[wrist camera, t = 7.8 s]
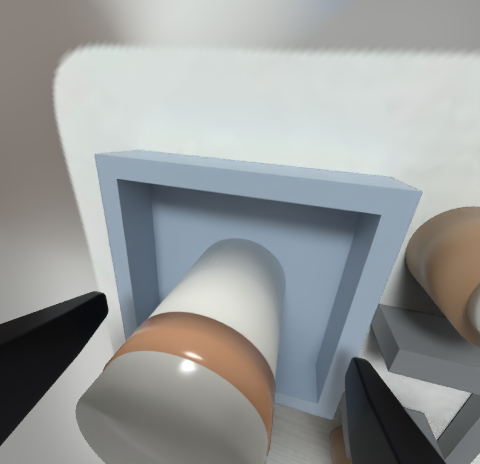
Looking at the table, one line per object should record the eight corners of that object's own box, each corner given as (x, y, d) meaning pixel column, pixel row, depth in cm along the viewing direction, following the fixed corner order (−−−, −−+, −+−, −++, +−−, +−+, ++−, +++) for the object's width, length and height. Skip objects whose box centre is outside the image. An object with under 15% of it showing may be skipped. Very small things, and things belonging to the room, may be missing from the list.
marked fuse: (294, 246, 10) (281, 434, 4) (279, 325, 12) (252, 540, 6) (197, 229, 11) (53, 357, 5) (196, 304, 13) (92, 471, 6)
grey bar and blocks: (645, 220, 7) (798, 258, 5) (425, 486, 14) (448, 551, 12) (422, 194, 9) (465, 215, 6) (320, 450, 16) (323, 504, 13)
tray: (391, 177, 9) (422, 191, 6) (327, 370, 13) (332, 420, 11) (138, 149, 11) (94, 153, 8) (155, 324, 15) (128, 358, 13)
